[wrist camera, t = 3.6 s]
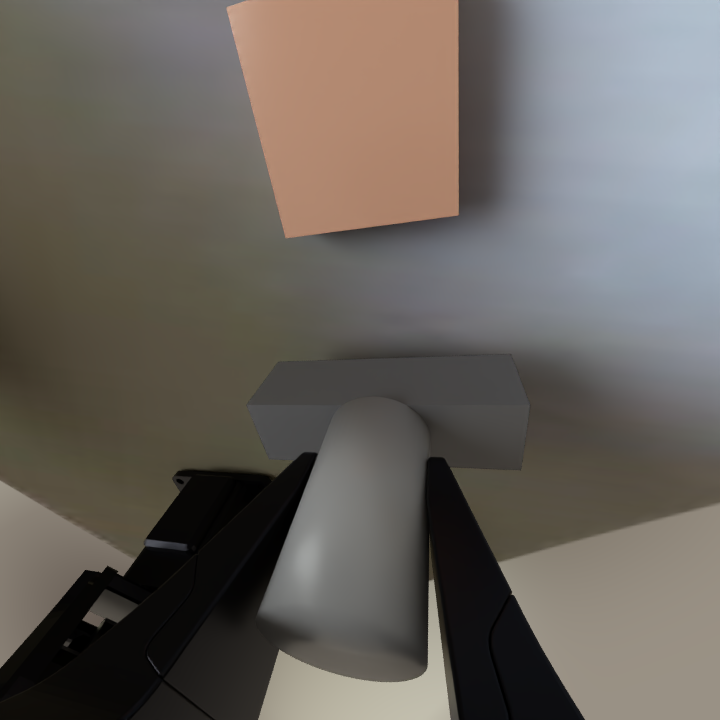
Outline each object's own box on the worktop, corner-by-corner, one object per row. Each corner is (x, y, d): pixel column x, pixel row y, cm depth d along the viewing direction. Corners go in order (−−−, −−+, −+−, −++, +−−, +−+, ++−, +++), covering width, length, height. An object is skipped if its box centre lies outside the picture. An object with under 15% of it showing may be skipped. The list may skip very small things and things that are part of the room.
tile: (454, 204, 10) (458, 215, 9) (307, 225, 12) (285, 238, 10) (453, -23, 8) (458, -71, 6) (264, 33, 9) (226, 7, 7)
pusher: (504, 419, 12) (585, 725, 5) (296, 417, 14) (179, 642, 7) (511, 345, 10) (635, 654, 4) (275, 355, 12) (107, 572, 6)
